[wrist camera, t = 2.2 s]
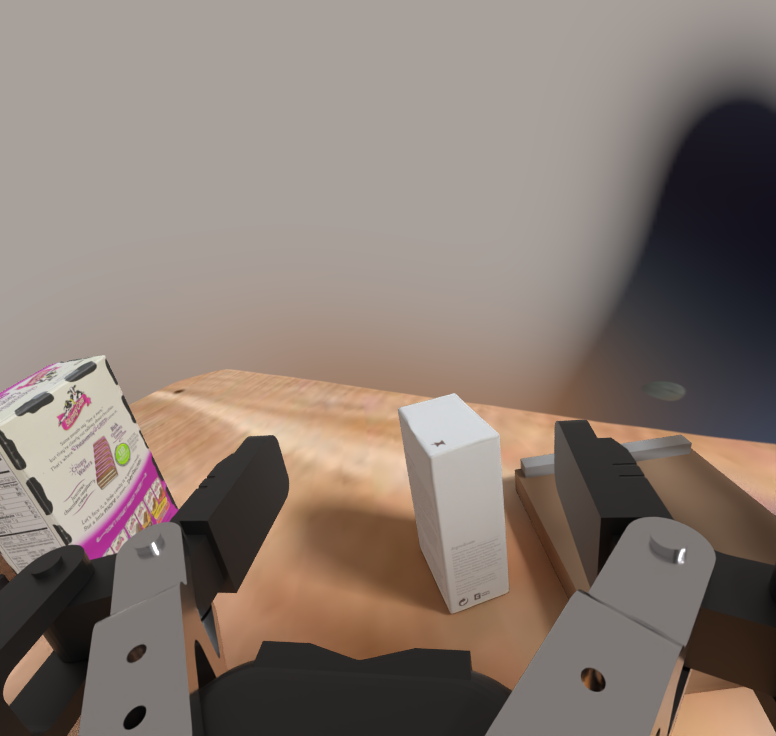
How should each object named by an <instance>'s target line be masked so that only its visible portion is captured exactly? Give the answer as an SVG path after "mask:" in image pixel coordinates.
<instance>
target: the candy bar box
mask: <svg viewBox="0 0 776 736" xmlns="http://www.w3.org/2000/svg"><path fill="white" fill-rule="evenodd" d="M178 510H179V509H178V508H177V506H176V504H175V502H174V500H173V498H172V495H171V493H170V491H169V489H168V487H167V485H166V483H165V481H164V479H163V477H162V475H161V473H160V471H159V469H158V466H157V464H156V462H155V460H154V458H153V456H152V453H151V451H150V449H149V447H148V446H147V444H146V442H145V440H144V438H143V435H142V433H141V430H140V428H139V427H138V424H137V422H136V420H135V418H134V416H133V414H132V412H131V410H130V408H129V406H128V404H127V402H126V399H125V397H124V396H123V393H122V391H121V389H120V387H119V385H118V383H117V381H116V378H115V376H114V374H113V372H112V370H111V368H110V366H109V364H108V362H107V360H106V357H105V355H103V356H96V357H90V358H84V359H76V360H71V361H67V362H58V363H55V364H52V365H49V366H47V367H45V368H43V369H42V370H40V371H38V372H36V373H35V374H33V375H31V376H30V377H27V378H26V379H24V380H22V381H20V382H18V383H17V384H15V385H13V386H11V387H10V388H8V389H6V390H4V391H3V392H1V393H0V554H1V555H2V557H3V558H4V559H5V561H6V562H7V563H8V565H10V566H11V568H12V569H13V571H14V572H15V573H16V575H17V574H18V573H19V572H20V571H22V570H23V569H24V568H25V567H26V566H27V565H28V564H30V563H31V562H32V561H34V560H35V559H37V558H38V557H40V556H42V555H44V554H45V553H47V552H49V551H52V550H54V549H56V548H59V547H62V546H67V545H80V546H82V547H83V548H84V550H85V552H86V554H87V555H88V557H89V559H90V560H92V559H96V558H100V557H104V556H108V555H112V554H115V553H118V551H119V550H120V548H121V547H122V546H123V544H124V543H125V542H126V541H127V540H128V539H130V538H131V537H132V536H133V535H135V534H136V533H138V532H139V531H141V530H143V529H145V528H147V527H149V526H152V525H154V524H158V523H163V522H169V521H170V520H171V519H172V517H173V516H174V515H175V514H176V513H177V511H178Z"/></svg>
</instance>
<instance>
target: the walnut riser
mask: <svg viewBox="0 0 776 736" xmlns="http://www.w3.org/2000/svg"><path fill="white" fill-rule="evenodd" d="M691 444H692V443H691V442H690V441H689V440H687V439H686V438H685V437H683V436H682V435H676V436H670V437H663V438H656V439H650V440H643V441H636V442H630V443H623V444H621V445H622V446H624V447H625V448H627V449H628V450H629V452H630V453H631V455H632V456H633V458H634V460H635V461H636V463H637V466H639V467H640V469H641V470H642V472H643V473H644V476H645V478H647V479H648V481H649V482H650V484H651V485H652V487H653V488H654V490H655V491H656V493H657V494H658V496H659V497H660V499H661V500H662V502H663V503H664V505H665V506H666V508H667V509H668V511H669V512H670V514H671V516H672V517H673V519H674V520H675V521H678V522H680V523H683V524H685V525H687V526H689V527H691V528H693V529H694V530H696V531H697V532H699V533H700V534H701V535H702V536H703V537H705V538H706V540H707V541H708V542H709V543H710V544H711V546H712V547H713V549H714V550H716V551H718V552H721V553H724V554H728V555H732V556H736V557H740V558H745V559H749V560H754V561H758V562H763V563H767V564H772V565H775V562H776V516H775V515H774V514H772V513H771V512H770V511H769V510H767V509H766V508H765V507H764V506H762V505H761V504H760V503H759V502H757V501H756V500H755V499H754V498H752V497H751V496H750V495H749V494H747V493H746V492H745V491H744V490H742V489H741V488H740V487H739V486H737V485H736V484H735V483H734V482H732V481H731V480H730V479H729V478H727V477H726V476H725V475H724V474H722V473H721V472H720V471H719V470H717V469H716V468H715V467H714V466H712V465H711V464H710V463H709V462H708V461H706V460H705V459H704V458H703V457H701V456H700V455H699V454H698V453H696V452H695V451H694V450H693V449H691ZM515 483H516V491H517V493H518V495H519V497H520V499H521V501H522V503H523V505H524V507H525V509H526V511H527V513H528V515H529V518H530V520H531V522H532V524H533V526H534V528H535V530H536V532H537V534H538V536H539V538H540V540H541V542H542V545H543V547H544V549H545V551H546V553H547V555H548V557H549V559H550V561H551V563H552V565H553V567H554V570H555V572H556V574H557V576H558V578H559V580H560V582H561V584H562V586H563V588H564V590H565V592H566V594H567V597H568V599H569V600H570V598H571V597H572V595H573V594H574V593H575V592H576V591H577V590H579V589H581V590H583V591H585V592H588V591H589V590H590V586H589V583H588V580H587V577H586V574H585V571H584V568H583V566H582V563H581V560H580V557H579V554H578V551H577V548H576V545H575V542H574V539H573V536H572V533H571V530H570V527H569V524H568V522H567V519H566V516H565V513H564V510H563V507H562V504H561V501H560V498H559V495H558V492H557V488H556V482H555V473H554V454H550V455H543V456H536V457H530V458H523V459H521V469H517V470H515ZM736 687H744V686H741V685H738V684H735V683H732V682H729V681H726V680H723V679H720V678H717V677H714V676H711V675H708V674H705V673H702V672H699V671H696V670H693V669H692V672H691V675H690V678H689V681H688V685H687V688H686V691H685V694H690V693H698V692H705V691H713V690H721V689H728V688H736Z"/></svg>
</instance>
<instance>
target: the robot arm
mask: <svg viewBox="0 0 776 736" xmlns="http://www.w3.org/2000/svg"><path fill="white" fill-rule="evenodd" d="M554 473H555V482H556V488H557V492H558V495H559V498H560V501H561V504H562V507H563V510H564V513H565V516H566V519H567V522H568V524H569V527H570V530H571V533H572V536H573V539H574V542H575V545H576V548H577V551H578V554H579V557H580V560H581V563H582V566H583V568H584V571H585V574H586V577H587V580H588V583H589V586H590V590H589V591H588V592H585V591H583V590H581V589H579V590H577V591H576V592H575V593H574V594H573V595H572V597H571V598H570V600H569V601H568V603H567V604H566V606H565V608H564V609H563V611H562V612H561V614H560V616H559V617H558V619H557V620H556V622H555V624H554V625H553V627H552V629H551V630H550V632H549V633H548V635H547V637H546V638H545V640H544V641H543V643H542V645H541V646H540V648H539V649H538V651H537V653H536V654H535V656H534V657H533V659H532V661H531V662H530V664H529V665H528V667H527V669H526V670H525V672H524V673H523V675H522V677H521V678H520V680H519V682H518V683H517V685H516V686H515V688H514V690H513V691H511V690H510V689H509V688H507V687H505V686H504V685H502V684H501V683H499V682H498V681H496V680H494V679H492V678H490V677H488V676H486V675H483V674H481V673H478V672H475V671H472V665H471V656H470V651H463V650H442V649H421V648H414V649H410V650H405V651H401V652H396V653H392V654H387V655H383V656H378V657H374V658H369V659H364V660H356V659H352V658H350V657H347V656H344V655H341V654H339V653H336V652H333V651H330V650H327V649H325V648H322V647H319V646H316V645H314V644H311V643H294V642H273V641H263V642H262V645H261V647H260V650H259V652H258V654H257V657H256V659H255V660H254V661H250V662H247V663H245V664H242V665H239V666H237V667H235V668H233V669H231V670H229V671H227V667H226V662H225V656H224V650H223V645H222V639H221V634H220V628H219V623H218V617H217V612H216V608H215V605H214V603H213V600H214V598H215V596H216V595H217V593H237V591H238V589H239V587H240V586H241V584H242V582H243V580H244V578H245V576H246V574H247V572H248V570H249V568H250V567H251V565H252V563H253V561H254V559H255V557H256V555H257V553H258V551H259V550H260V548H261V546H262V544H263V542H264V540H265V538H266V536H267V534H268V532H269V531H270V529H271V527H272V525H273V523H274V521H275V519H276V517H277V515H278V514H279V512H280V510H281V508H282V506H283V504H284V502H285V500H286V498H287V496H288V491H289V478H288V474H287V471H286V467H285V464H284V460H283V457H282V454H281V450H280V447H279V443H278V440H277V439H276V437H275V436H273V435H268V436H250V437H247V438H246V439H245V441H244V442H243V443H242V444H241V445H240V447H239V448H238V449H237V450H236V452H235V453H234V454H231V455H229V456H228V457H227V458H225V459H224V460H222V461H221V462H220V463H218V464H217V465H216V466H215V467H214V469H213V470H212V471H211V472H210V473H209V475H208V476H207V479H204V480H203V482H202V483H201V484H200V485H199V489H196V490H195V491H194V492H193V494H192V495H191V496H190V497H189V498H188V500H187V501H186V502H185V503H184V504H183V505H182V507H181V508H180V509H179V510H178V511H177V513H176V514H175V515H174V516H173V517H172V519H171V520H170V521H169V522H163V523H158V524H154V525H152V526H149V527H147V528H145V529H143V530H141V531H139V532H138V533H136V534H135V535H133V536H132V537H131V538H130V539H128V540H127V541H126V542H125V543H124V544H123V546H122V547H121V548H120V550H119V551H118V553H115V554H112V555H108V556H104V557H100V558H96V559H92V560H90V559H89V557H88V555H87V554H86V552H85V550H84V548H83V547H82V546H80V545H67V546H62V547H59V548H56V549H54V550H52V551H49V552H47V553H45V554H44V555H42V556H40V557H38V558H37V559H35V560H34V561H32V562H31V563H30V564H28V565H27V566H26V567H25V568H24V569H23V570H22V571H20V572H19V573H18V574H17V575H16V576H15V577H14V578H13V579H12V580H11V581H10V582H9V583H8V584H7V585H6V586H5V587H4V588H3V589H1V590H0V736H67V735H68V733H69V732H70V730H71V729H72V727H73V726H74V724H75V723H76V721H77V720H78V718H79V717H80V715H81V720H80V727H79V734H78V736H671V734H672V731H673V728H674V725H675V722H676V719H677V716H678V712H679V709H680V706H681V703H682V700H683V697H684V694H685V691H686V688H687V685H688V681H689V678H690V675H691V672H692V669H693V670H696V671H699V672H702V673H705V674H708V675H711V676H714V677H717V678H720V679H723V680H726V681H729V682H732V683H735V684H738V685H741V686H744V687H747V688H750V689H753V690H754V692H755V694H756V696H757V698H758V700H759V702H760V704H761V705H762V707H763V709H764V711H765V713H766V715H767V717H768V719H769V721H770V722H771V724H772V726H773V728H774V730H775V732H776V562H775V565H772V564H767V563H763V562H758V561H754V560H749V559H745V558H740V557H736V556H732V555H728V554H724V553H721V552H718V551H716V550H714V549H713V547H712V546H711V544H710V543H709V542H708V541H707V540H706V538H705V537H703V536H702V535H701V534H700V533H699V532H697V531H696V530H694V529H693V528H691V527H689V526H687V525H685V524H683V523H680V522H678V521H675V520H674V519H673V517H672V516H671V514H670V512H669V511H668V509H667V508H666V506H665V505H664V503H663V502H662V500H661V499H660V497H659V496H658V494H657V493H656V491H655V490H654V488H653V487H652V485H651V484H650V482H649V481H648V479H647V478H645V476H644V473H643V472H642V470H641V469H640V467H639V466H637V463H636V461H635V460H634V458H633V456H632V455H631V453H630V452H629V450H628V449H627V448H625V447H624V446H622V445H621V444H619V443H618V442H617V441H615V440H614V439H612V438H597V437H596V435H595V433H594V431H593V430H592V428H591V426H590V424H589V423H588V421H587V420H570V421H556V423H555V445H554ZM42 635H44V637H45V638H46V640H47V641H48V643H49V644H50V645H51V647H52V648H53V650H54V651H53V652H52V653H51V655H50V656H49V657H48V658H47V660H46V661H45V662H44V663H43V665H42V666H41V667H40V668H39V670H38V671H37V672H36V673H35V674H34V676H33V677H32V678H31V679H30V681H29V682H28V683H27V684H26V686H25V687H24V688H23V689H22V691H21V692H20V693H19V694H18V696H17V697H16V698H15V699H14V701H13V702H12V703H11V704H10V706H8V704H7V703H6V702H5V700H4V698H3V688H4V685H5V682H6V680H7V678H8V676H9V674H10V672H11V671H12V670H13V669H14V667H15V666H16V665H17V664H18V663H19V661H20V660H21V659H22V658H23V657H24V656H25V654H26V653H27V652H28V651H29V650H30V649H31V647H32V646H33V645H34V644H35V643H36V642H37V640H38V639H39V638H40V637H41V636H42Z"/></svg>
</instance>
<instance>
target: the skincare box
mask: <svg viewBox="0 0 776 736" xmlns="http://www.w3.org/2000/svg"><path fill="white" fill-rule="evenodd" d="M398 414H399V420H400V426H401V432H402V439H403V445H404V452H405V458H406V464H407V470H408V476H409V482H410V488H411V494H412V500H413V506H414V512H415V519H416V525H417V531H418V537H419V544H420V548H421V550H422V553H423V555H424V557H425V559H426V561H427V564H428V566H429V568H430V570H431V572H432V575H433V577H434V579H435V581H436V583H437V585H438V588H439V590H440V592H441V594H442V596H443V598H444V600H445V603H446V605H447V607H448V609H449V612H450V613H451V614H453V613H456V612H459V611H462V610H464V609H467V608H470V607H472V606H474V605H477V604H480V603H482V602H485V601H487V600H490V599H493V598H496V597H498V596H501V595H504V594H506V593H508V592H509V580H508V564H507V549H506V531H505V515H504V500H503V485H502V468H501V452H500V437H499V434H498V433H497V432H496V431H495V430H494V429H493V428H492V427H491V426H490V425H488V424H487V423H486V422H485V421H484V420H483V419H482V418H481V417H480V416H479V415H478V414H477V413H475V412H474V411H473V410H472V409H471V408H470V407H469V406H468V405H467V404H466V403H465V402H464V401H462V400H461V399H460V398H459V397H458V396H457V395H456V394H455V393H453V394H450V395H446V396H442V397H438V398H435V399H431V400H427V401H423V402H420V403H416V404H412V405H408V406H404V407H400V408H399V409H398Z"/></svg>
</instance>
